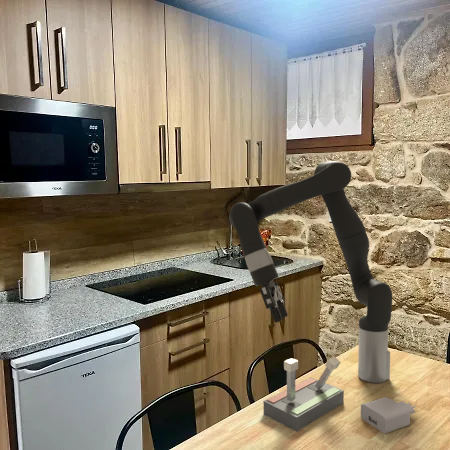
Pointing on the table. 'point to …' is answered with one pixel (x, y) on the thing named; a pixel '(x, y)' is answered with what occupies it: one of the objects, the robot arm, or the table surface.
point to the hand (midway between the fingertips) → (281, 319)
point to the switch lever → (291, 377)
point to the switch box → (303, 404)
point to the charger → (387, 414)
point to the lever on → (327, 371)
